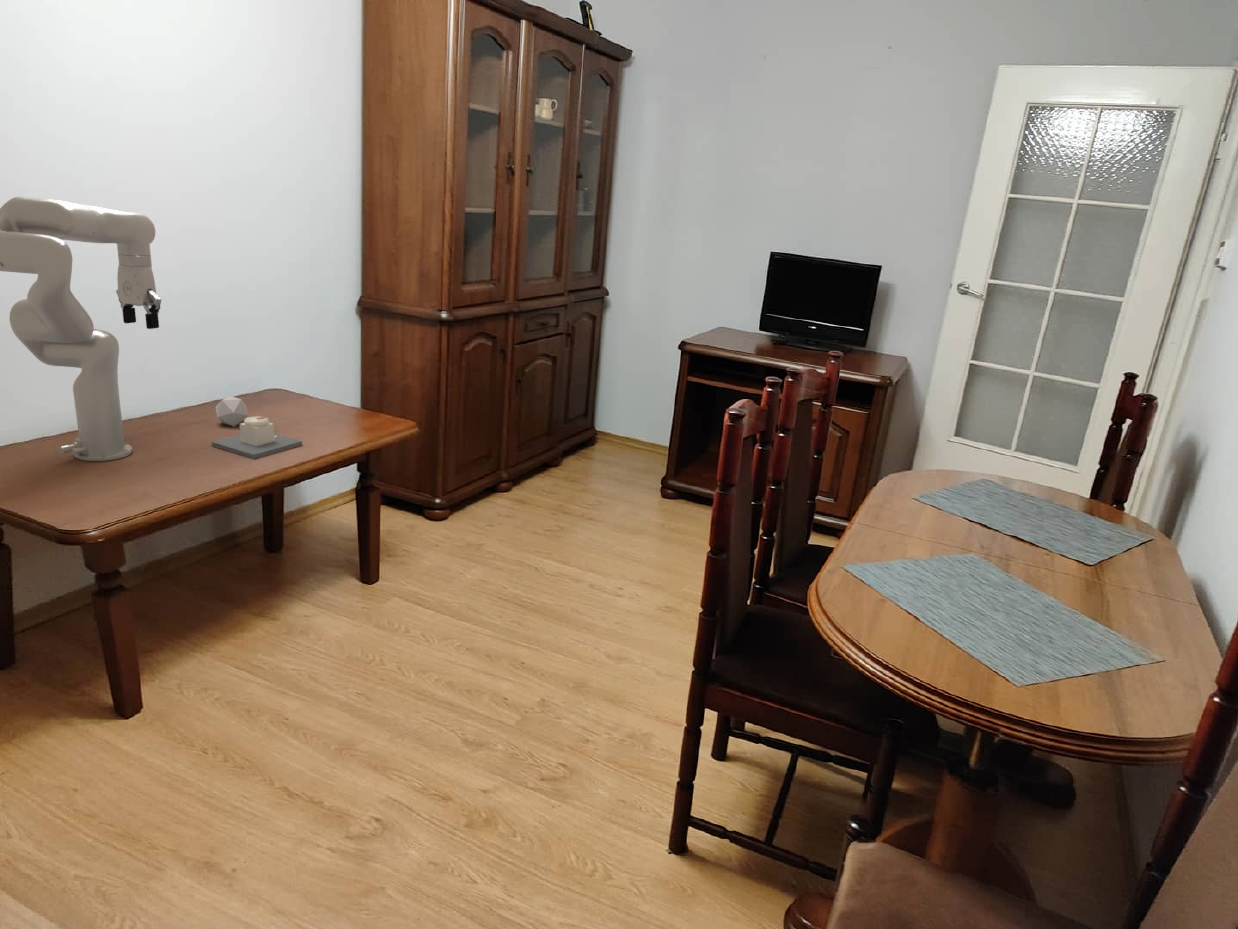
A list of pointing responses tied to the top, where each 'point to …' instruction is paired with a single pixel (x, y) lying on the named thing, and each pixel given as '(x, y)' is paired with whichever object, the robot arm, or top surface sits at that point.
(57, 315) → the robot arm
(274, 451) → the grey square peg base
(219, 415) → the die
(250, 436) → the white stepped block
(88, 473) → the top surface
